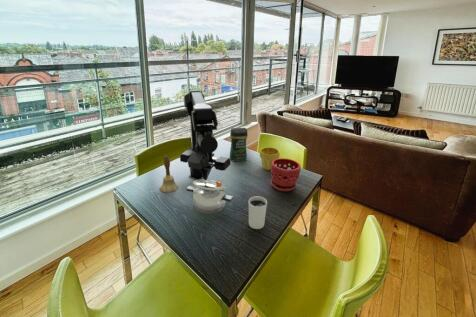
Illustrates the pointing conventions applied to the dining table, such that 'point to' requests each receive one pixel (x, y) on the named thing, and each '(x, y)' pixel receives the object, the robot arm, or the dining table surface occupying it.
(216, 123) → the robot arm
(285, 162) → the plant pot
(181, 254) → the dining table surface
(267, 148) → the plant pot
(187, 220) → the dining table surface
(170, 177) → the hand bell
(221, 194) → the cooker pot
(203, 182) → the cooker lid
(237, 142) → the coffee jar
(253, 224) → the white cup
